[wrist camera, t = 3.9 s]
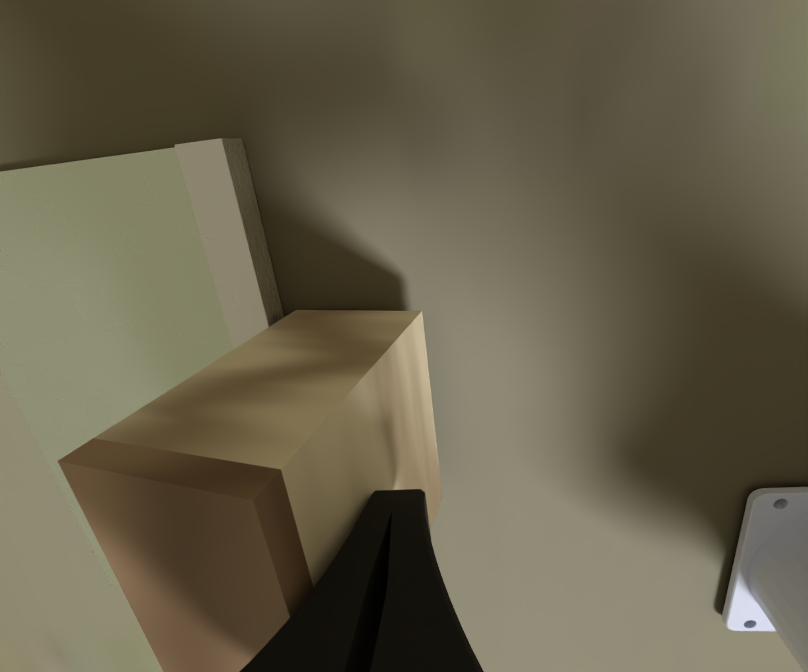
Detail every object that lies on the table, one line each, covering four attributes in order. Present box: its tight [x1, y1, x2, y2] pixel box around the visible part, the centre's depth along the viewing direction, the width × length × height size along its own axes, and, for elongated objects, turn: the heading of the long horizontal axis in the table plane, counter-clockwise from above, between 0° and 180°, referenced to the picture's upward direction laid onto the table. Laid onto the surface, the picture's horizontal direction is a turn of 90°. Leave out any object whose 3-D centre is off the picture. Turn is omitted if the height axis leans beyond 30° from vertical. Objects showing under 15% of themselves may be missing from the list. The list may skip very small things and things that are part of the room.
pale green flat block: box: [0, 138, 284, 584], centre depth 19 cm, size 13×20×2 cm, turn 7°
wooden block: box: [58, 310, 442, 672], centre depth 14 cm, size 5×8×9 cm, turn 7°
